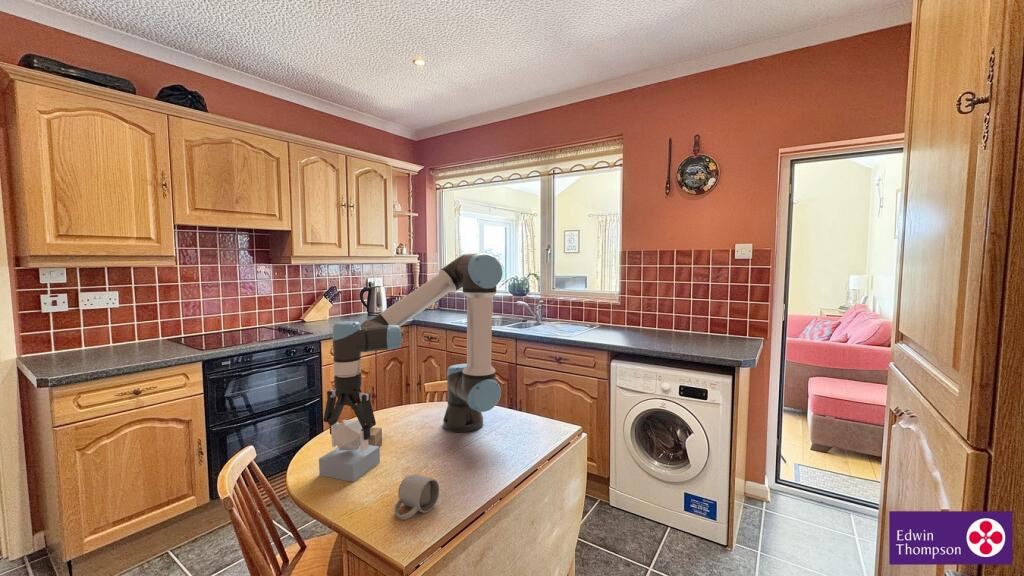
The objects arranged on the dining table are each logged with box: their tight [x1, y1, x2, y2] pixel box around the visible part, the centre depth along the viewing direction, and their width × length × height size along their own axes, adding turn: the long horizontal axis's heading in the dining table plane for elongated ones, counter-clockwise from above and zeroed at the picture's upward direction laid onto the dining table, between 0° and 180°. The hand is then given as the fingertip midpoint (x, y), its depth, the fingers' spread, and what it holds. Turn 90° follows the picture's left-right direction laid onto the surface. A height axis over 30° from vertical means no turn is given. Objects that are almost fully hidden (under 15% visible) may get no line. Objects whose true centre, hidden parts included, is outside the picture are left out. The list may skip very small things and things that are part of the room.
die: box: [331, 419, 362, 450], centre depth 123 cm, size 8×9×10 cm
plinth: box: [318, 445, 381, 483], centre depth 123 cm, size 12×12×5 cm
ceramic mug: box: [393, 474, 440, 521], centre depth 103 cm, size 11×8×8 cm
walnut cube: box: [368, 427, 383, 448], centre depth 137 cm, size 6×6×6 cm
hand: (350, 447), depth 123 cm, fingers closed on die, 10 cm apart
